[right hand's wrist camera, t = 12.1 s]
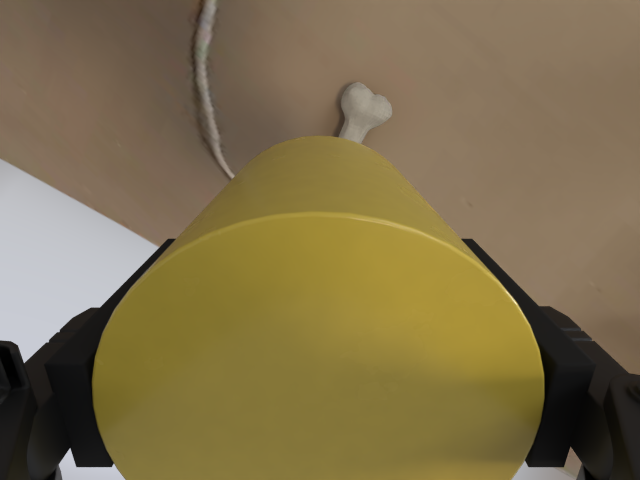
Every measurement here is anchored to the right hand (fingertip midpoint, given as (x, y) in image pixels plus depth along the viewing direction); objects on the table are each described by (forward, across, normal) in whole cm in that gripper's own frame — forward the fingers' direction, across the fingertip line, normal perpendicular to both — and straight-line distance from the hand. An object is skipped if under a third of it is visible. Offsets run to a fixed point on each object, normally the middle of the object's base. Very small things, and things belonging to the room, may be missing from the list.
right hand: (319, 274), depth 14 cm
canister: (+4, 0, 0) cm, 4 cm away
